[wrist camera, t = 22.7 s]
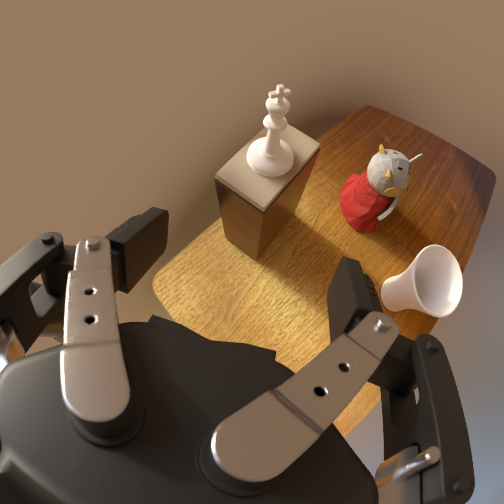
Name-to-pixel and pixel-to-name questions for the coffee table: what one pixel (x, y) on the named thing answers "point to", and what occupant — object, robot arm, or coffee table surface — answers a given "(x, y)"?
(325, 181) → the coffee table surface
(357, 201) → the figurine
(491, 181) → the coffee table surface
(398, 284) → the cup
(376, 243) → the coffee table surface
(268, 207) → the rectangular box
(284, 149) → the chess piece
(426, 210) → the coffee table surface
